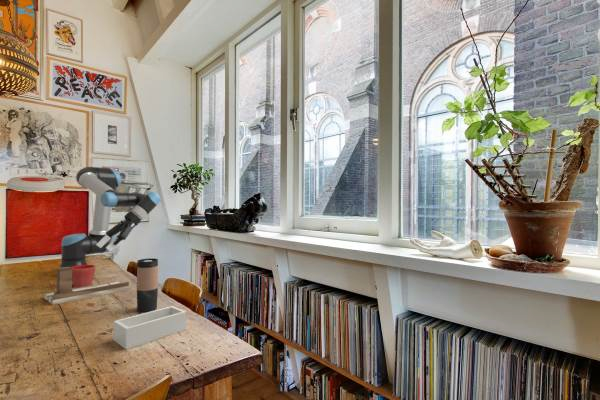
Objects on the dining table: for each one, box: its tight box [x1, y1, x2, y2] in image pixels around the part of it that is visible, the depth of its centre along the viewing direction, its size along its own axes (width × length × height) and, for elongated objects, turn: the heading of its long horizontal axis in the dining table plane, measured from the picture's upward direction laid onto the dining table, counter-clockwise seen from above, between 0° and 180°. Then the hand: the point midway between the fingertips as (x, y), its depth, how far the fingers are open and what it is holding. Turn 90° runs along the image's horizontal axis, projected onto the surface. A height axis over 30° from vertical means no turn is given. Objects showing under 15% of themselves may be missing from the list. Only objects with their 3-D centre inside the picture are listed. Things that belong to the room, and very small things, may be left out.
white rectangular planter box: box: [113, 305, 188, 350], centre depth 103 cm, size 9×19×6 cm, turn 140°
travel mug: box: [136, 257, 159, 314], centre depth 127 cm, size 8×8×20 cm
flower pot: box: [71, 264, 96, 288], centre depth 162 cm, size 11×11×10 cm
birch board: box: [43, 280, 130, 306], centre depth 147 cm, size 14×30×4 cm, turn 140°
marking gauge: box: [53, 267, 74, 295], centre depth 138 cm, size 7×6×12 cm
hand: (102, 248), depth 153 cm, fingers open, 13 cm apart
